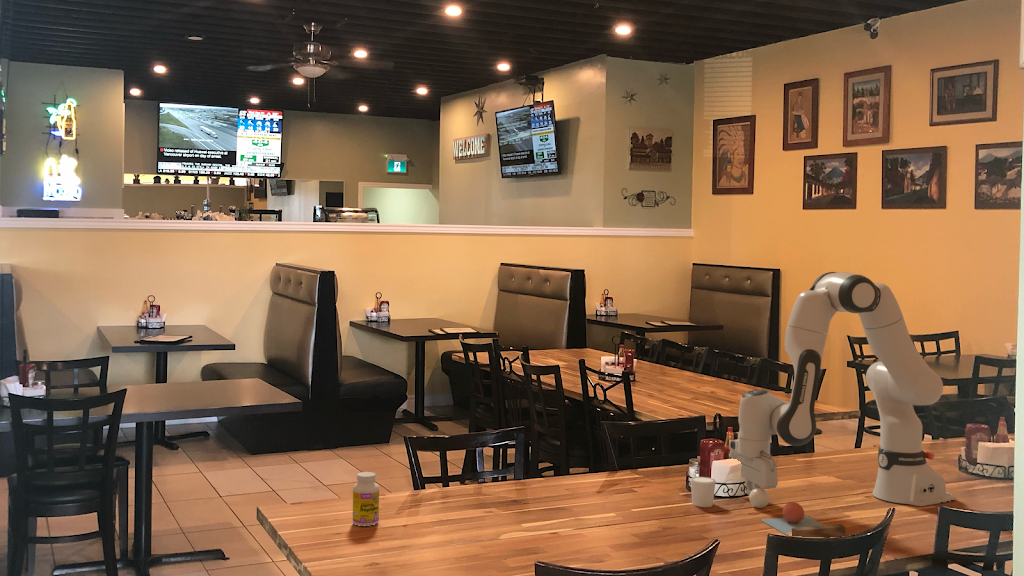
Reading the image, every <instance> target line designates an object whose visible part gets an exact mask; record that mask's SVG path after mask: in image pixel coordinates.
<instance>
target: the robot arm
mask: <svg viewBox="0 0 1024 576" xmlns="http://www.w3.org/2000/svg"><path fill="white" fill-rule="evenodd" d="M838 312H841V313H850V314H851V313H852V314H857V315H858V316H859V317H860V318H859V319H860V321H861V325H862V328H863V331H864V334H865V336H866V337H865V338H866V340H867V343H868V346H869V350H870V351H871V352H872V354H873V355H874V356H875V357H876V358H877V359H878V360H879V361H876V362H873V363H872V364H871V365H870V366H869V367H868V368H867V370H866V373H865V382H866V385H867V387H868V388H869V390H870V391H871V393H872V395H873V398H874V400H875V402H876V407H877V409H878V414H879V422H880V423H879V424H880V432H879V433H880V437H879V440H880V441H879V442H880V444H879V447H878V450H877V451H878V452H877V461H878V462H877V463H878V469H877V474H876V481H875V485H874V489H873V490H872V496H874V497H875V498H876V499H880V500H883V501H886V502H891V503H896V504H903V505H904V504H905V505H911V506H915V507H925V506H926V507H927V506H930V505H931V506H932V505H937V504H942V503H941V502H943V503H948V502H947V501H949V502H952V501H951V500H954V501H955V500H956V499H955V496H954V495H953V494H952V493H950V492H948V491H947V485H946V481H945V478H944V476H942V474H940V473H939V472H938V471H936V470H935V469H934V468H933V467H932V466H930V464H928V463H927V459H928V460H933V459H935V455H934V453H933V452H930V451H924V450H923V449H922V448H923V424H922V421H921V419H920V417H918V415H917V414H916V411H915V409H914V406H931V405H934V404H935V403H937V402H938V401H939V400H940V399H941V396H943V395H942V394H943V392H944V383H943V379H942V378H941V377H940V375H939V374H938V373H937V372H935V371H934V370H933V368H931V367H930V365H928V363H926V361H925V360H924V358H923V356H922V355H921V354H920V352H919V350H918V349H917V347H916V346H915V343H914V342H913V339H912V338H911V335H910V333H909V330H908V327H907V324H906V321H905V318H904V315H903V312H902V310H901V307H900V305H899V303H898V301H897V299H896V297H895V295H894V292H892V289H891V288H890V287H889V286H888V285H887V284H884V283H879V282H873V281H872V280H871V279H870V278H868V277H866V276H864V275H862V274H855V273H853V272H852V273H851V272H847V271H845V272H844V271H843V272H836V271H830V272H825V273H822V274H820V275H819V276H818V277H817V278H816V279H815V281H814V282H813V284H812V286H811V287H810V288H809V289H808V290H804V291H801V293H799V294H798V295H797V297H796V300H795V301H794V304H793V306H792V309H791V311H790V314H789V317H788V321H787V325H786V329H785V333H784V350H785V352H786V354H787V355H788V358H789V359H790V361H791V363H792V364H791V365H792V366H793V371H794V373H793V374H794V376H793V377H794V378H793V379H794V380H793V383H792V388H791V389H792V390H791V396H790V401H786V400H783V399H781V398H779V397H778V396H777V397H776V396H775V395H773V394H772V393H770V392H769V391H768V390H766V389H752V390H748V391H746V392H744V393H743V394H742V396H741V397H740V401H739V406H738V418H737V419H738V420H737V421H738V425H739V426H738V427H739V431H738V434H737V439H733V440H729V441H728V447H729V449H730V450H729V458H730V457H731V458H733V459H737V460H738V461H740V462H741V464H742V466H741V467H742V468H741V476H740V477H741V478H744V483H745V486H746V491H747V492H746V494H747V495H748V496H749V495H750V493H751V491H752V490H753V489H755V488H762V489H764V490H766V489H767V490H770V489H776V488H777V486H778V485H779V484H778V483H779V481H778V480H779V479H778V467H777V463H776V461H775V459H774V458H773V455H772V454H771V436H772V435H777V436H779V437H780V439H782V440H783V442H784V443H785V444H787V445H790V446H792V447H800V446H803V445H806V444H808V443H809V442H810V441H811V440H813V438H814V437H815V434H816V432H817V421H816V417H815V416H816V415H815V407H816V400H817V399H816V398H817V395H818V387H819V380H820V375H821V367H822V361H823V355H824V350H825V345H826V342H827V337H828V334H829V329H830V323H831V321H832V319H833V317H834V316H835V315H836V313H838Z"/></svg>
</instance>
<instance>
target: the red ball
mask: <svg viewBox="0 0 1024 576" xmlns="http://www.w3.org/2000/svg"><path fill="white" fill-rule="evenodd" d="M804 516H805V510H804V508H803V506H802V505H801V504H799V503H797V502H793V501H791V502H790V501H789V502H788V503H786V504H785V505H784V506H783V508H782V517H783V518H785V519H786V520H787V521H788V522H790V523H799V522H800V521H801V520H802V519H803V517H804Z"/></svg>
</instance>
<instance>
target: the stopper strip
mask: <svg viewBox="0 0 1024 576" xmlns="http://www.w3.org/2000/svg"><path fill="white" fill-rule="evenodd" d="M792 536H802V537H833V538H836V537H835V536H844V537H846V525H843V524H841V523H840V524H839V523H838V524H824V526H812V527H800V528H792Z"/></svg>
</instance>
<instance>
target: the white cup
mask: <svg viewBox="0 0 1024 576" xmlns="http://www.w3.org/2000/svg"><path fill="white" fill-rule="evenodd" d="M716 482H717V481H716V480H715V478H712V477H708V476H694V477H691V478H690V489H691V490H690V491H691V503H692V505H693V506H695V507H699V508H710V507H713V505H714V499H715V498H714V497H715V489H716V484H717V483H716Z"/></svg>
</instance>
